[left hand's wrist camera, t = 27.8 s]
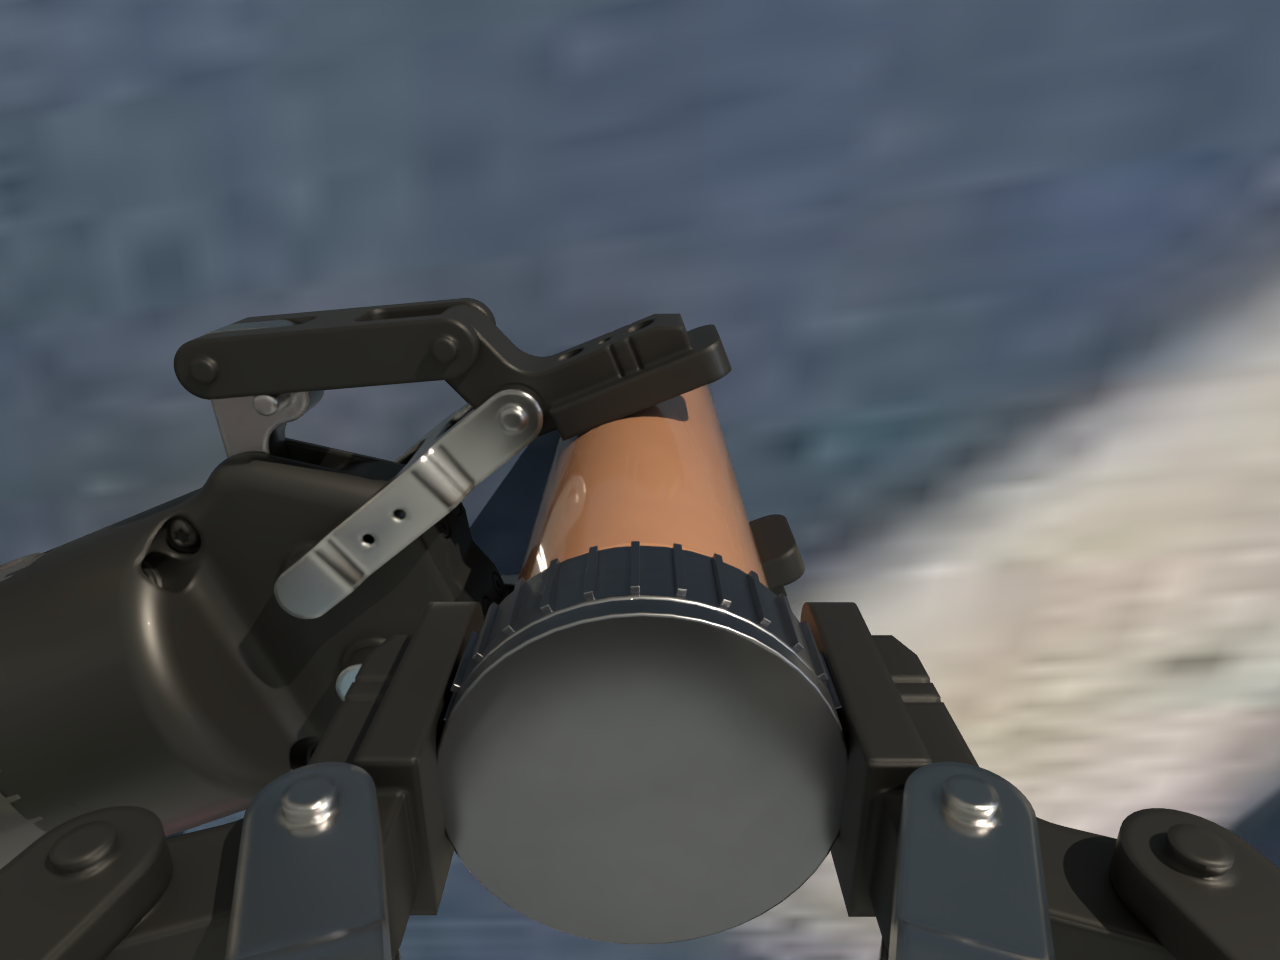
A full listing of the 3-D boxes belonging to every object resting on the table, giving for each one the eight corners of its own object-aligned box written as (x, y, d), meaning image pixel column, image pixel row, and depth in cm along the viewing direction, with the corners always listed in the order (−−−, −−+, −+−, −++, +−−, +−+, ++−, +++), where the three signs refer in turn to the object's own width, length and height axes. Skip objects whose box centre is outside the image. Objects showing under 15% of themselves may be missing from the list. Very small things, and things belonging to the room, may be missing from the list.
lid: (412, 785, 12) (377, 884, 10) (528, 480, 10) (507, 542, 8) (733, 884, 12) (747, 991, 11) (894, 615, 11) (939, 695, 9)
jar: (550, 441, 25) (434, 810, 11) (603, 314, 24) (546, 548, 9) (676, 492, 26) (720, 903, 11) (734, 371, 24) (867, 670, 10)
